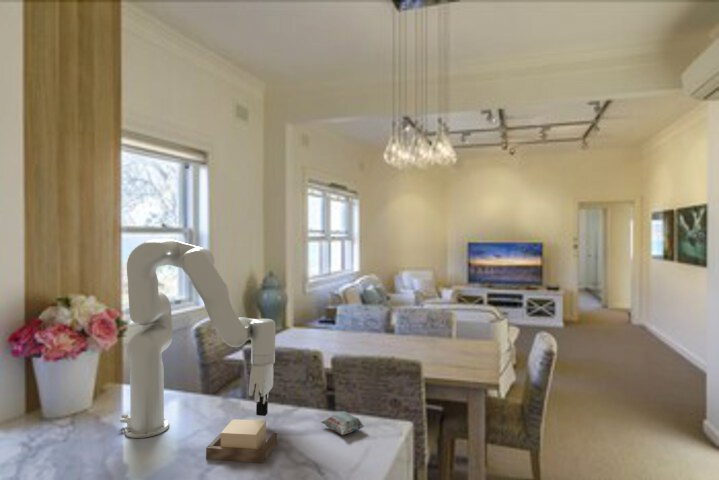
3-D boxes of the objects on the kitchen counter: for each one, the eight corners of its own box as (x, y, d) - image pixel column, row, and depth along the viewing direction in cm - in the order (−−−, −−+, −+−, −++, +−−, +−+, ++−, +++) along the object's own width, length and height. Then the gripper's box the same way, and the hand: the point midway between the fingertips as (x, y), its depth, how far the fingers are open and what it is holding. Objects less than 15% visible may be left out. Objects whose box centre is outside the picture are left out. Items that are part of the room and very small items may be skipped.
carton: (220, 458, 122) (220, 432, 122) (233, 442, 131) (233, 419, 131) (255, 460, 121) (255, 434, 121) (265, 444, 130) (265, 420, 130)
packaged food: (342, 441, 132) (342, 424, 132) (319, 427, 141) (320, 412, 141) (364, 433, 137) (364, 417, 137) (341, 420, 147) (341, 406, 147)
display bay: (206, 458, 121) (206, 447, 121) (224, 439, 133) (224, 429, 133) (263, 463, 119) (263, 452, 119) (277, 442, 131) (277, 432, 130)
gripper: (260, 351, 150) (259, 404, 150) (242, 363, 135) (241, 423, 135) (281, 352, 149) (280, 406, 149) (266, 365, 134) (264, 425, 134)
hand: (261, 414), depth 142 cm, fingers closed
